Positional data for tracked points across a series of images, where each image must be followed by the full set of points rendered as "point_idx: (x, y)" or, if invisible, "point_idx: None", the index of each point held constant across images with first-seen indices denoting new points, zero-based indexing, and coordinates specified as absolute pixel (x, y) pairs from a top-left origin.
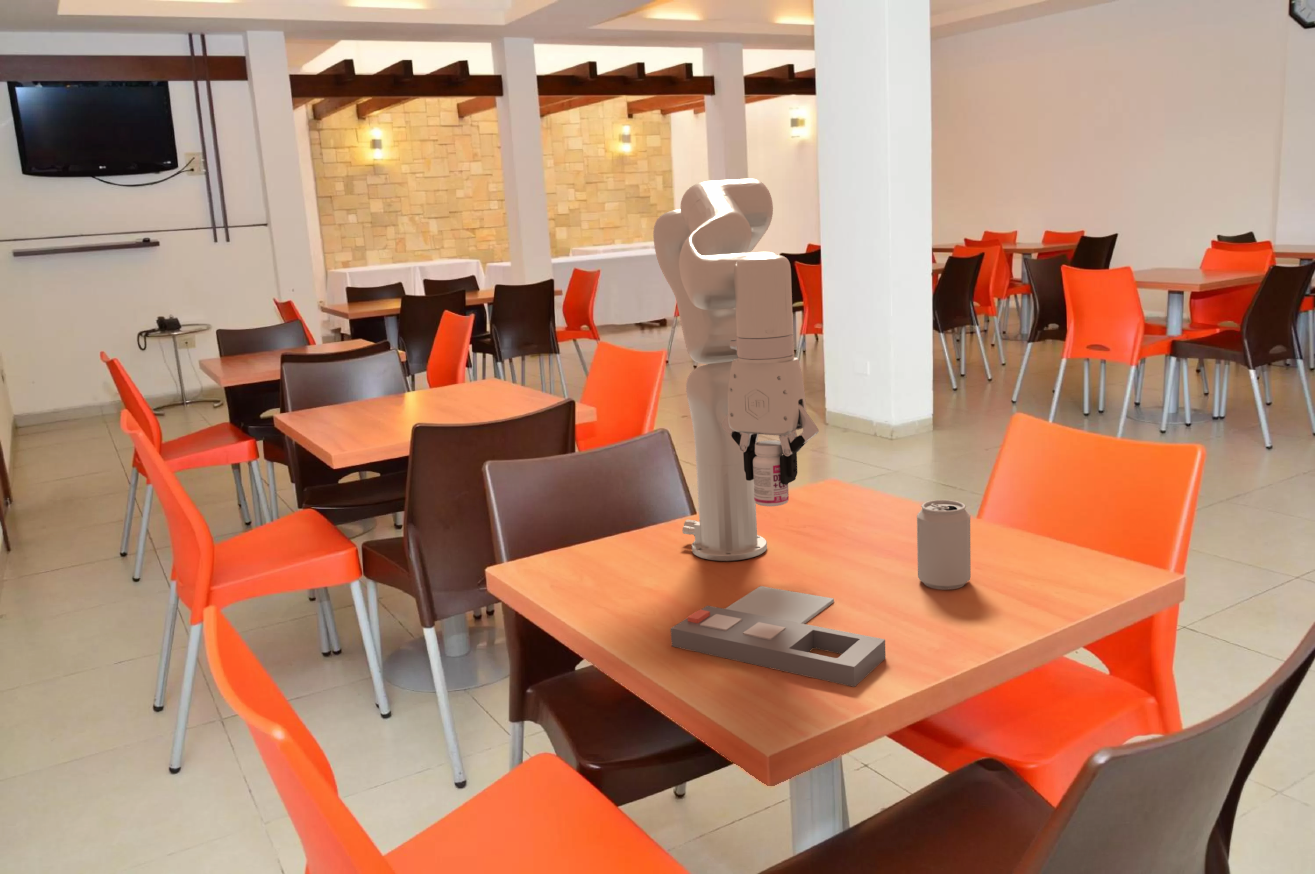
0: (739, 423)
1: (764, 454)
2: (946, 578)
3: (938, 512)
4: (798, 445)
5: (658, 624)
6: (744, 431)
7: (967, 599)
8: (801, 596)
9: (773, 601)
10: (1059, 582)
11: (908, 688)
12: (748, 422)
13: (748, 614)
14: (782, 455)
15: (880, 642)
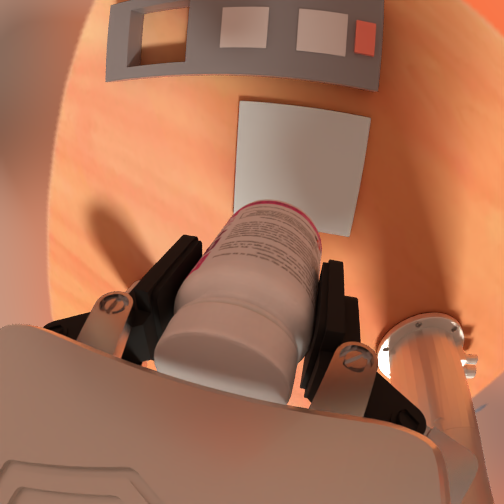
0: (352, 475)
1: (220, 303)
2: (135, 284)
3: None
4: (66, 320)
5: (436, 72)
6: (311, 412)
7: (119, 261)
8: None
9: (308, 183)
10: (89, 310)
11: (86, 37)
12: (248, 475)
13: (297, 74)
14: (146, 301)
15: (106, 72)
